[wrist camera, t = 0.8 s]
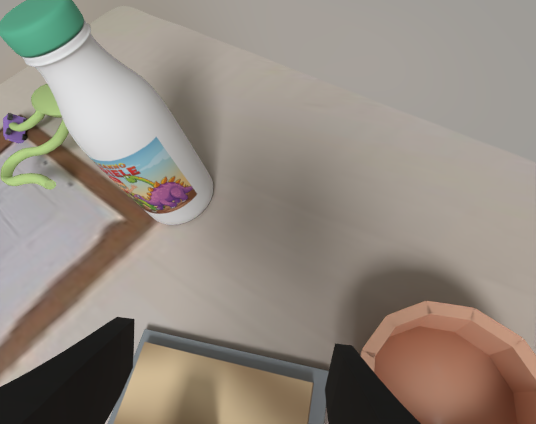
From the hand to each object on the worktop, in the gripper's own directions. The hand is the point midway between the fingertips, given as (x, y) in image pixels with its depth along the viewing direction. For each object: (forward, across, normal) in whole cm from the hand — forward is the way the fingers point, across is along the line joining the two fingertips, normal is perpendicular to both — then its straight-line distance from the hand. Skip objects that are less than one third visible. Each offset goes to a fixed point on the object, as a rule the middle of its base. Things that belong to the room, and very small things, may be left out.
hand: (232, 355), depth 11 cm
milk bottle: (+25, +8, +1) cm, 26 cm away
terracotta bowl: (+8, -14, +8) cm, 17 cm away
